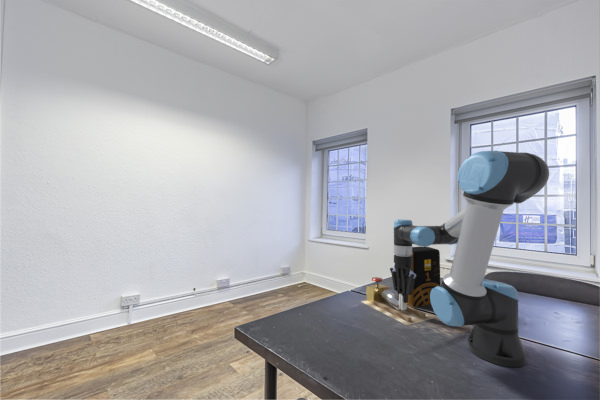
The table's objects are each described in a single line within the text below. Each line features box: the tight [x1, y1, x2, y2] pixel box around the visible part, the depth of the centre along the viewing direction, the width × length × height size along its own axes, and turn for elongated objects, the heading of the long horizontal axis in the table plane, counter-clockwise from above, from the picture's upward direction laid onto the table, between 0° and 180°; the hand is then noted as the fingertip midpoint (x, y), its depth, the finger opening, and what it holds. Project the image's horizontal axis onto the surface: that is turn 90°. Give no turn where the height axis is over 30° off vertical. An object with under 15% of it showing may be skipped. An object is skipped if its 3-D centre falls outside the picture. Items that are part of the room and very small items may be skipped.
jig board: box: [360, 299, 435, 326], centre depth 115 cm, size 28×16×3 cm, turn 26°
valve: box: [365, 276, 389, 303], centre depth 126 cm, size 8×9×11 cm
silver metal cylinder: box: [381, 289, 402, 311], centre depth 117 cm, size 10×5×5 cm, turn 26°
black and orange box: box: [407, 246, 441, 308], centre depth 125 cm, size 11×19×28 cm, turn 112°
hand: (402, 309), depth 111 cm, fingers closed
